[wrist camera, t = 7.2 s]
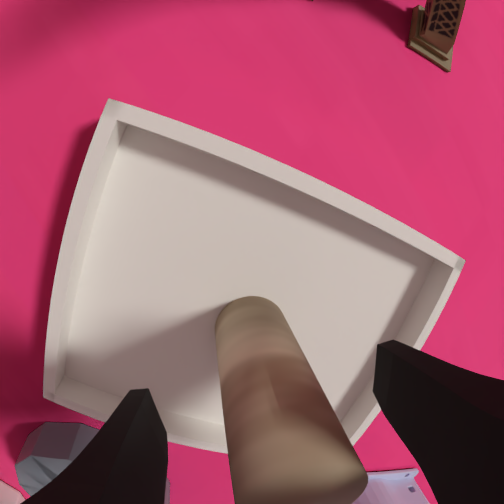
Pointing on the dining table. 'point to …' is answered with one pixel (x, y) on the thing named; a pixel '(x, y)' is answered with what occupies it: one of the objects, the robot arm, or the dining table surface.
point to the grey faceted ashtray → (54, 454)
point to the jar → (9, 494)
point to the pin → (279, 414)
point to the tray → (223, 275)
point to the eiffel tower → (436, 30)
